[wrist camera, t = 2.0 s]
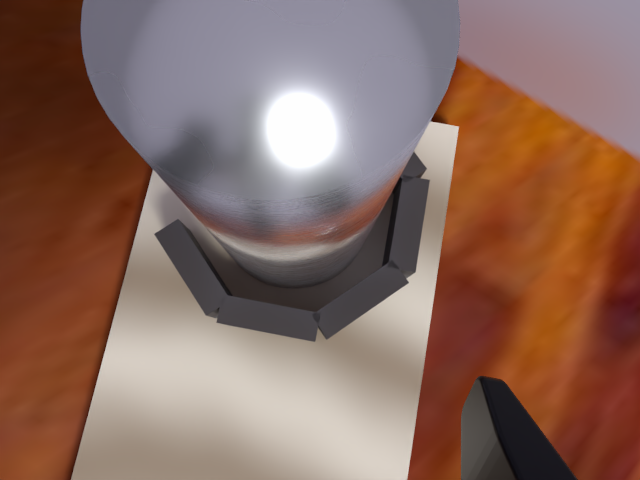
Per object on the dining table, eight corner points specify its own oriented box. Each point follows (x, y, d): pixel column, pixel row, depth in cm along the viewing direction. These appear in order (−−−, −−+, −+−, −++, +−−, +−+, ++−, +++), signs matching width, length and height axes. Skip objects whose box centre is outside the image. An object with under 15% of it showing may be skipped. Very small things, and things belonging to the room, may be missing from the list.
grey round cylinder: (396, 244, 21) (531, 90, 8) (261, 316, 20) (181, 269, 8) (325, 119, 22) (346, -193, 9) (194, 184, 21) (22, -56, 8)
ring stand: (381, 615, 19) (394, 664, 16) (62, 551, 19) (18, 587, 17) (452, 136, 23) (473, 105, 20) (183, 86, 23) (165, 48, 20)
